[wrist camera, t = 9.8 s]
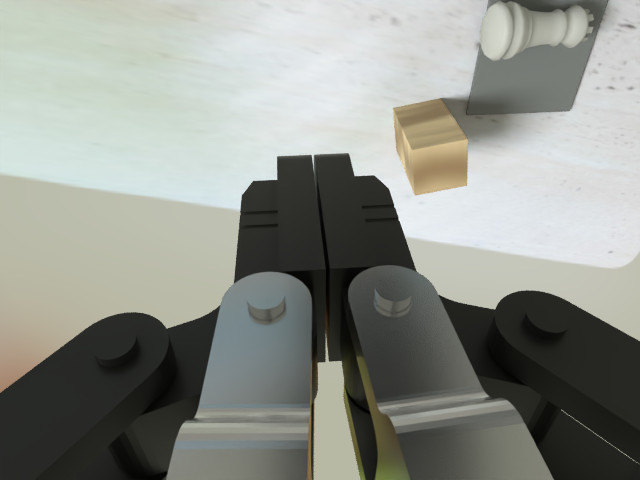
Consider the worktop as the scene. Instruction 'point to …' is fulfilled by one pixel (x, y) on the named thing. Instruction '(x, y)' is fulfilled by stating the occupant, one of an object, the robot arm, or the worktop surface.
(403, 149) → the oak block
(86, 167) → the worktop surface
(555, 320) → the robot arm
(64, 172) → the worktop surface
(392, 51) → the worktop surface
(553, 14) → the rook chess piece
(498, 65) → the mat
